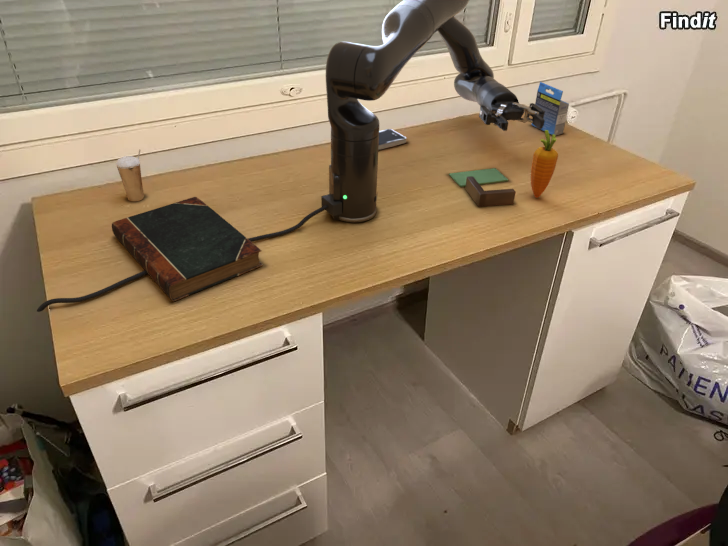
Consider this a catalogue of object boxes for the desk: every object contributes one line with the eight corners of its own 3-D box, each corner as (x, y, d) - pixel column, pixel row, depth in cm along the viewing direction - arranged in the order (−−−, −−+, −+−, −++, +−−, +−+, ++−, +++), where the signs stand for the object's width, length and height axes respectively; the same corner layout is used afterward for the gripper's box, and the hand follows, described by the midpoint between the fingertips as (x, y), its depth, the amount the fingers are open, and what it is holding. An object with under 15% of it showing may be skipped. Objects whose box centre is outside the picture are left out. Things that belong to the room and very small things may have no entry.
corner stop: (478, 206, 124) (480, 194, 122) (465, 188, 131) (466, 176, 129) (513, 204, 126) (515, 191, 124) (498, 186, 132) (500, 174, 130)
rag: (460, 187, 131) (460, 185, 131) (448, 175, 136) (449, 173, 136) (508, 181, 134) (508, 179, 134) (495, 169, 139) (495, 168, 139)
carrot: (548, 204, 126) (564, 138, 117) (525, 201, 127) (538, 135, 118) (547, 193, 130) (562, 129, 121) (524, 191, 131) (537, 126, 122)
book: (263, 266, 104) (199, 211, 120) (262, 249, 102) (196, 195, 117) (171, 303, 95) (114, 238, 110) (167, 285, 93) (109, 221, 108)
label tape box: (563, 133, 159) (574, 88, 152) (552, 136, 157) (562, 91, 150) (540, 123, 165) (549, 79, 158) (529, 125, 163) (538, 81, 156)
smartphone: (342, 139, 149) (390, 128, 155) (342, 144, 149) (390, 133, 156) (358, 150, 143) (407, 138, 150) (358, 155, 144) (407, 143, 151)
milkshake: (154, 196, 124) (145, 152, 118) (131, 205, 121) (121, 160, 115) (143, 189, 126) (134, 146, 121) (120, 197, 123) (109, 153, 117)
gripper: (471, 87, 141) (497, 111, 128) (526, 84, 143) (557, 107, 130) (467, 117, 145) (491, 143, 132) (521, 114, 147) (550, 139, 135)
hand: (524, 125), depth 131 cm, fingers open, 8 cm apart
